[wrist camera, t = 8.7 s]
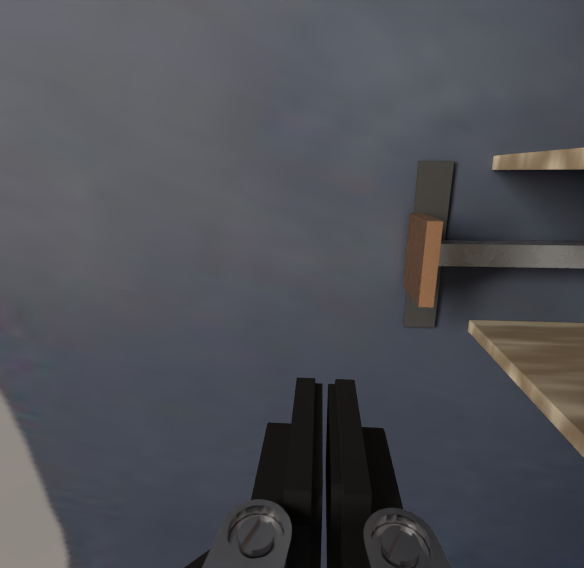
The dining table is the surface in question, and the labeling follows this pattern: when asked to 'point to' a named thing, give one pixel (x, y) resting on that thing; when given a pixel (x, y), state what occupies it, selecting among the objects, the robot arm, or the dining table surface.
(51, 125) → the dining table surface
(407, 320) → the strip
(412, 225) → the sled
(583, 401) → the tunnel
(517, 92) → the dining table surface
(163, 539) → the dining table surface
